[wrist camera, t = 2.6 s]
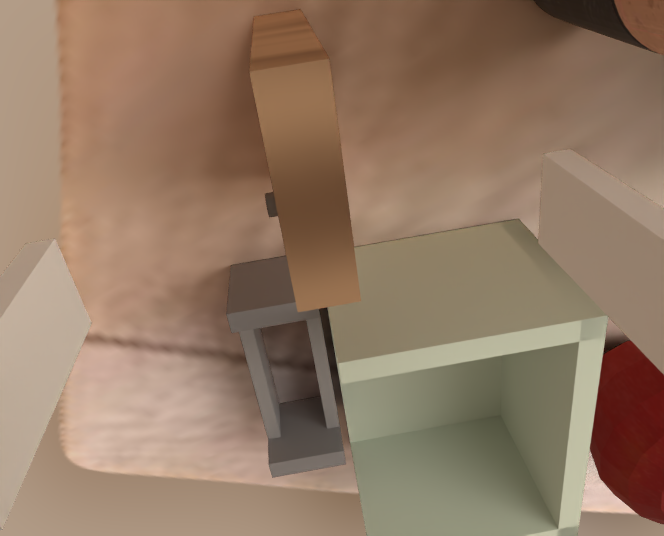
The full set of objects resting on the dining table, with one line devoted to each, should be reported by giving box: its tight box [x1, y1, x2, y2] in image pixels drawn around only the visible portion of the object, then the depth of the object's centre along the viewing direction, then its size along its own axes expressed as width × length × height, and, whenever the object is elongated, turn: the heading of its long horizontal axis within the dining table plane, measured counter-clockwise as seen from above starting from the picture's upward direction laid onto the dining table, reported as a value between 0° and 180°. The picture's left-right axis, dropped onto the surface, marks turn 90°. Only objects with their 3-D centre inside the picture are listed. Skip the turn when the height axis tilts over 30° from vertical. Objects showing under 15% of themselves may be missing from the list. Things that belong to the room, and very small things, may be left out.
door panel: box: [249, 9, 361, 312], centre depth 23 cm, size 8×3×13 cm, turn 8°
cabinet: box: [226, 219, 608, 536], centre depth 33 cm, size 16×17×10 cm
